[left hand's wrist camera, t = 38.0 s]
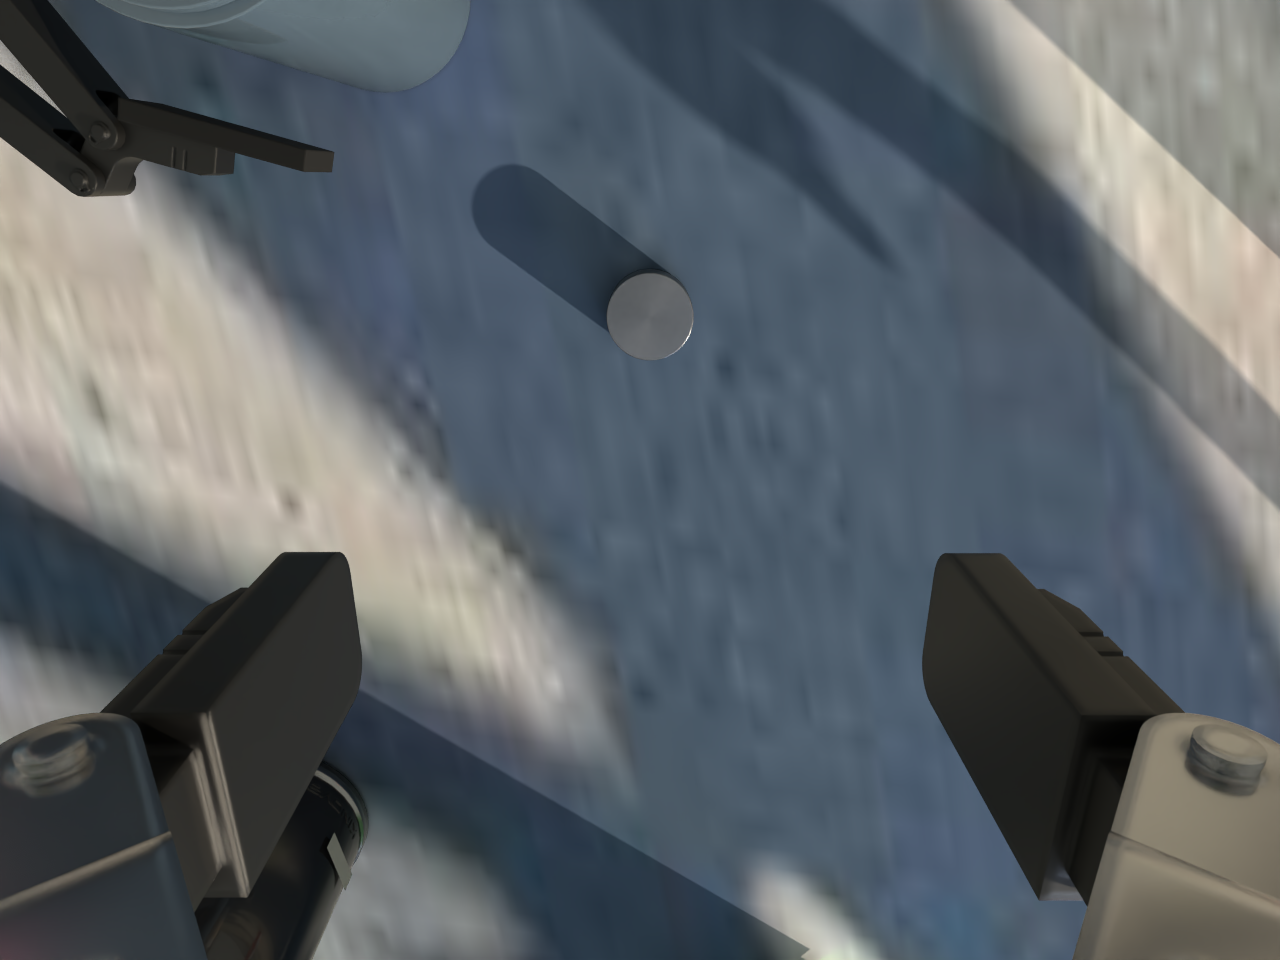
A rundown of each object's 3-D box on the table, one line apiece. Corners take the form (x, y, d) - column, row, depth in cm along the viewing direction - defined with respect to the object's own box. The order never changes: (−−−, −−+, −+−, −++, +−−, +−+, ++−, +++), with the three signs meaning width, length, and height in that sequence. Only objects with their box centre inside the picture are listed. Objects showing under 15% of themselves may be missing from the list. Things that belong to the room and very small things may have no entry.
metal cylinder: (591, 314, 38) (588, 320, 37) (646, 250, 37) (646, 253, 36) (652, 369, 39) (652, 377, 37) (708, 308, 38) (711, 314, 36)
